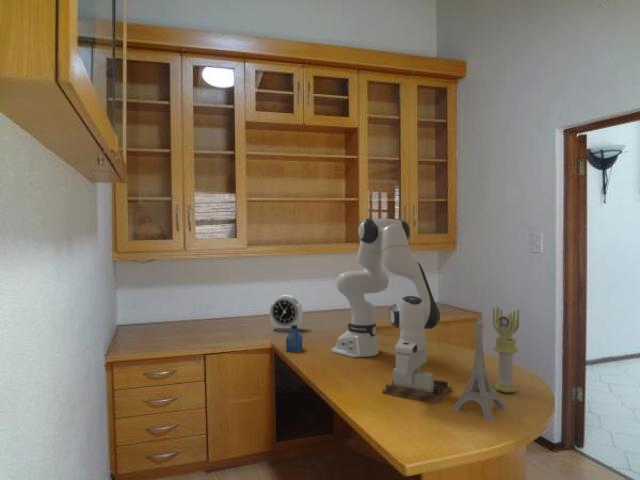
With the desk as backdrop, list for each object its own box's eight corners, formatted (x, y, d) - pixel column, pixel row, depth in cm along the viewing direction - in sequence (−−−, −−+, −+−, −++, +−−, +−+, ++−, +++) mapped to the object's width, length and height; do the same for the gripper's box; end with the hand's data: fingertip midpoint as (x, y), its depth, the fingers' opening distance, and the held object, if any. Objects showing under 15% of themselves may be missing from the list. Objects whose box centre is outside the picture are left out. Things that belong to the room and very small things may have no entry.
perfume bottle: (302, 348, 225) (302, 324, 225) (298, 352, 219) (298, 327, 219) (290, 348, 227) (290, 323, 226) (286, 351, 221) (285, 326, 220)
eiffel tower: (507, 408, 151) (507, 317, 150) (491, 421, 141) (491, 324, 140) (468, 398, 160) (468, 312, 159) (450, 410, 150) (450, 318, 149)
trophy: (489, 390, 166) (490, 308, 165) (499, 385, 171) (499, 305, 170) (512, 396, 160) (512, 311, 159) (521, 391, 165) (521, 308, 164)
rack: (382, 392, 165) (382, 384, 165) (400, 380, 178) (400, 372, 178) (436, 404, 154) (436, 395, 154) (451, 389, 167) (451, 381, 167)
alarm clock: (269, 331, 263) (268, 296, 263) (274, 327, 272) (273, 293, 271) (299, 332, 259) (298, 296, 258) (303, 329, 267) (302, 294, 267)
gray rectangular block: (393, 385, 165) (392, 369, 165) (396, 383, 168) (396, 367, 168) (430, 393, 158) (430, 376, 157) (433, 390, 160) (433, 373, 160)
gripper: (415, 335, 173) (415, 371, 173) (392, 348, 156) (392, 388, 156) (431, 337, 169) (431, 374, 170) (409, 351, 152) (410, 392, 153)
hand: (412, 381), depth 163 cm, fingers open, 3 cm apart
